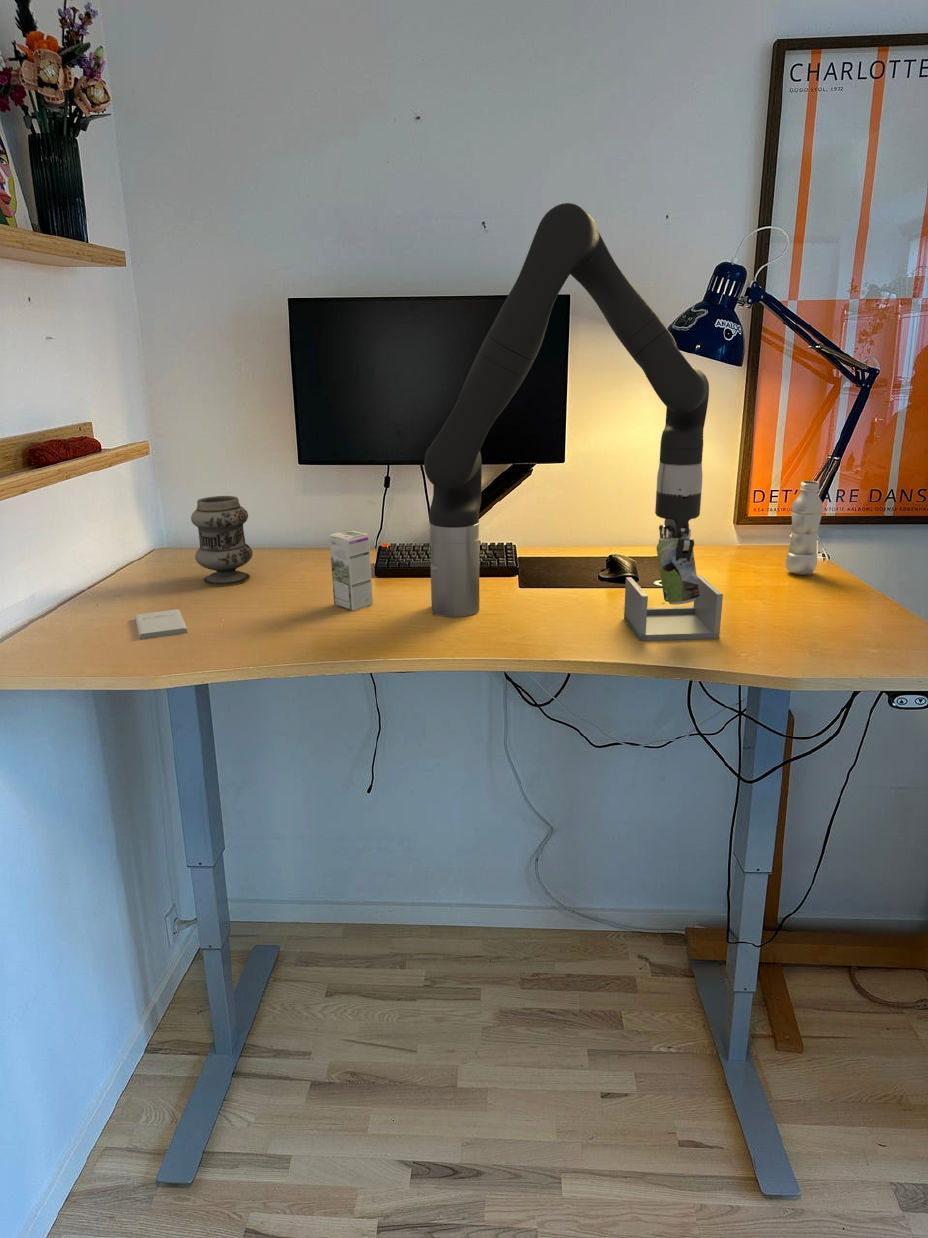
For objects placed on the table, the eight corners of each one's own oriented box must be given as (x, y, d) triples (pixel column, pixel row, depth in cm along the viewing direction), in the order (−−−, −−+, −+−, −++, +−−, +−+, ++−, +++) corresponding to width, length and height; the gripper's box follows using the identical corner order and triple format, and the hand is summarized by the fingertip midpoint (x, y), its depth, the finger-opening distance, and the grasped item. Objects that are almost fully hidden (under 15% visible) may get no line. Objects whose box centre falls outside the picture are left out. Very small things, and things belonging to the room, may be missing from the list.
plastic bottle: (818, 572, 191) (829, 481, 185) (812, 579, 186) (823, 485, 179) (788, 568, 195) (798, 478, 188) (780, 575, 189) (790, 483, 183)
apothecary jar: (224, 570, 199) (216, 491, 193) (266, 576, 193) (259, 495, 188) (185, 584, 188) (176, 501, 183) (229, 590, 183) (220, 505, 177)
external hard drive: (140, 642, 155) (135, 622, 166) (188, 635, 158) (180, 616, 169) (139, 634, 155) (134, 614, 165) (187, 627, 158) (179, 608, 168)
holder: (639, 640, 151) (642, 596, 149) (623, 618, 162) (625, 577, 160) (719, 638, 152) (723, 594, 149) (698, 616, 163) (701, 575, 161)
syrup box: (374, 604, 173) (370, 532, 168) (351, 611, 168) (347, 538, 164) (355, 599, 176) (351, 528, 172) (332, 605, 172) (328, 533, 168)
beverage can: (699, 607, 149) (701, 537, 146) (655, 606, 151) (656, 537, 148) (698, 600, 155) (700, 532, 152) (656, 599, 157) (656, 533, 154)
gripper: (646, 482, 156) (642, 576, 161) (668, 496, 142) (662, 598, 148) (688, 481, 156) (682, 575, 161) (713, 495, 143) (706, 597, 148)
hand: (672, 585), depth 155 cm, fingers closed on beverage can
